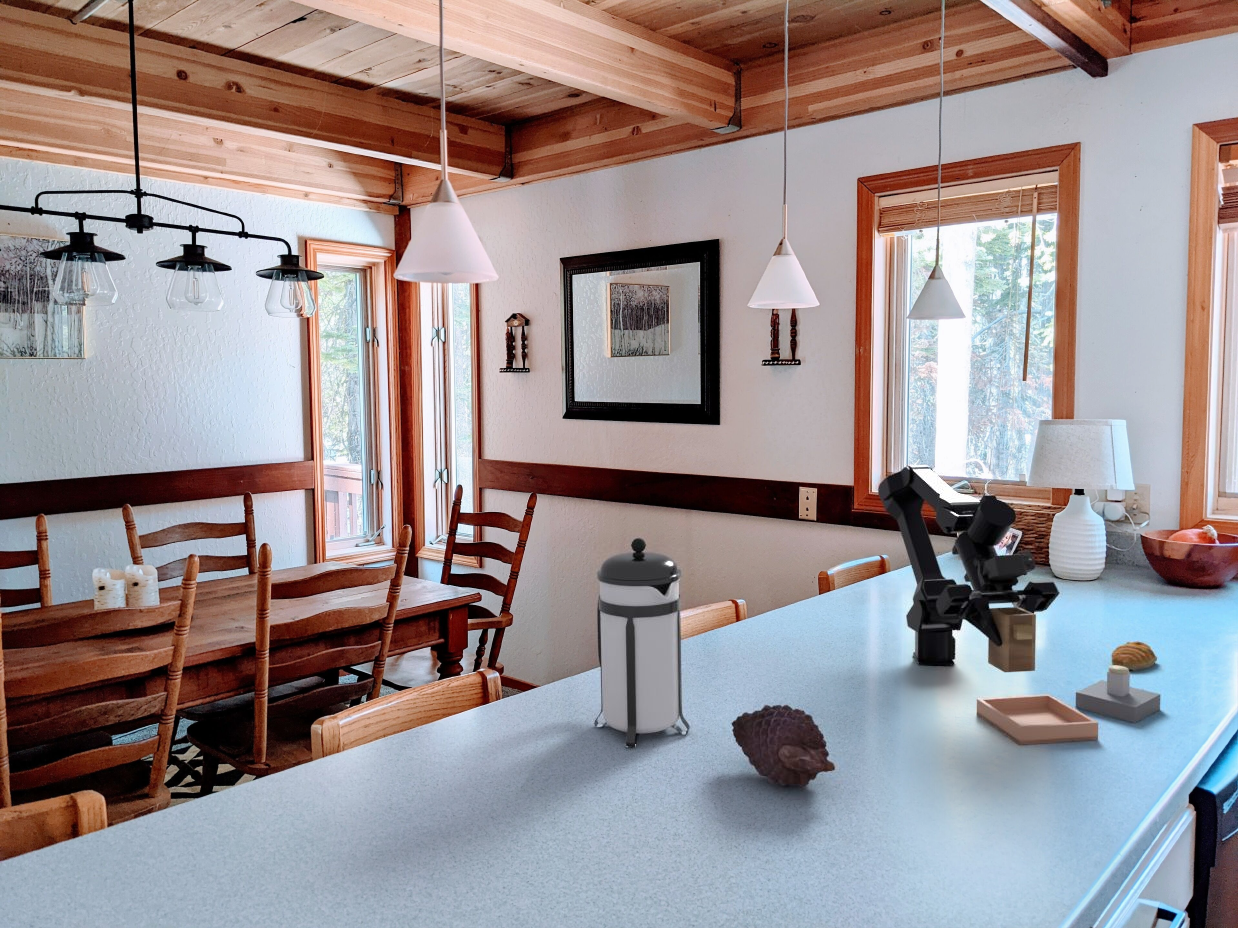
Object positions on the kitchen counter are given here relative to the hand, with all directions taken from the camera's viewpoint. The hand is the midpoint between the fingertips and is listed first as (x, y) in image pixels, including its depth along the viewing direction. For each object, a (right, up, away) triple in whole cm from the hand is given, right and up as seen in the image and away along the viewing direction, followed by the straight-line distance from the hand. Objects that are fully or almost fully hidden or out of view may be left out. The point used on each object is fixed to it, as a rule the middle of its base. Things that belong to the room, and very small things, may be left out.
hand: (1016, 644), depth 140 cm
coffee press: (-60, -13, -2) cm, 62 cm away
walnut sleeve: (0, -4, +2) cm, 4 cm away
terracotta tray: (+1, -12, -4) cm, 13 cm away
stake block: (+17, -11, +2) cm, 21 cm away
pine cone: (-41, -14, -21) cm, 48 cm away
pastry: (+33, -9, +25) cm, 42 cm away
